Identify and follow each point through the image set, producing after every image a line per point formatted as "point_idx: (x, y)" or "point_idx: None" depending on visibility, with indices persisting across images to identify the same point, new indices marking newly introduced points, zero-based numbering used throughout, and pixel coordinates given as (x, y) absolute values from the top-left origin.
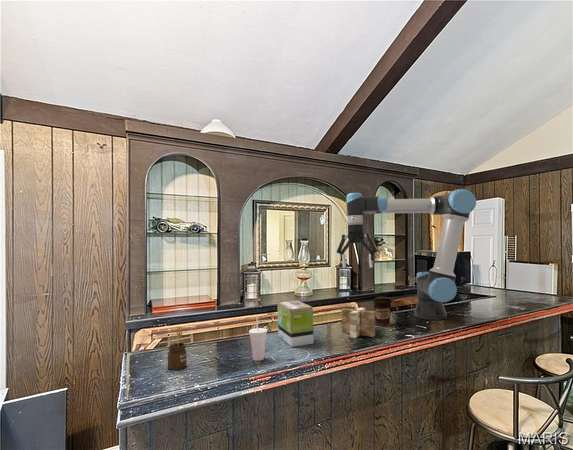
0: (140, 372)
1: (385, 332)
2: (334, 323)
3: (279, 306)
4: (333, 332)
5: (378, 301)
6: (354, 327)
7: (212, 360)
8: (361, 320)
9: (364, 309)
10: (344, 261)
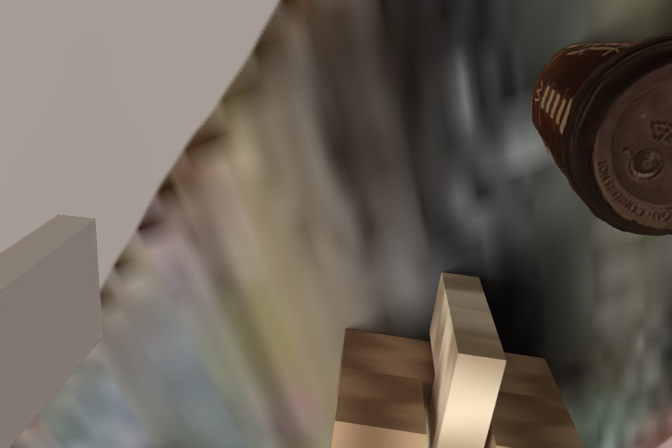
0: None
1: (604, 280)
2: (220, 174)
3: None
4: (293, 374)
5: (626, 228)
6: None
7: None
8: None
9: (497, 383)
10: (20, 378)
